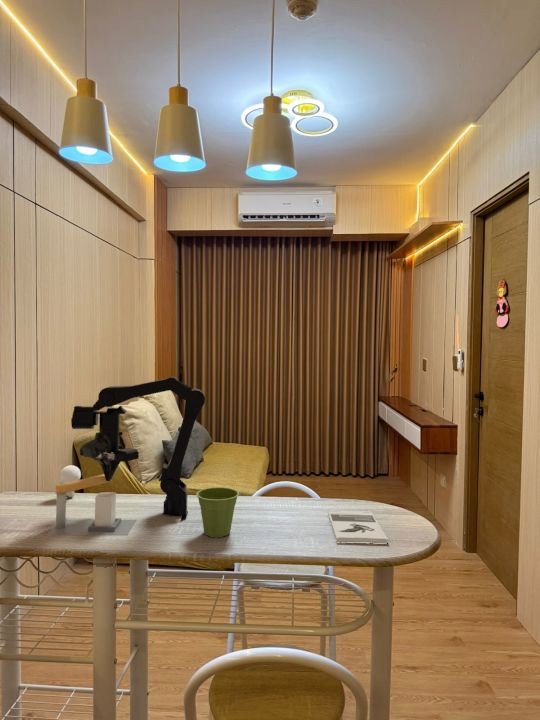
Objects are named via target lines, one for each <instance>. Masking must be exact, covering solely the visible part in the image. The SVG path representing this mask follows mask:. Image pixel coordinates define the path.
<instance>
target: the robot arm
mask: <svg viewBox="0 0 540 720" xmlns="http://www.w3.org/2000/svg"><path fill="white" fill-rule="evenodd" d="M168 391H170V392H172V393H174V394H175V395H177V396H178V397H179V398H181V399H182V400H184V401H185V402H184V413H183V419H182V422H181V425H180V428H179V432H178V435H177V439H176V442H175V445H174V448H173V452H172V456H171V459H170V460H169V463H168V464H167V463H163V465H162V470H161V473H160V475H159V477H158V482H160V483H159V487H160V489H161V491H162V492H163V493H164V494H166V496H165V499H164V501H163V510H162V511H163V516H164V515H165V516H170V517H180V520H186V519H187V516H188V513H189V511H188V494H187V489H188V487H187V484H186V483H185V482H184V481H183V480H182V479H181V477H182V476H181V475H182V467H183V462H184V458H185V455H186V452H187V449H188V446H189V442H190V438H191V436H192V432H193V429H194V425H195V423H196V422H195V421H197V418H198V416H199V414H200V413H201V411H202V410H203V407H204V404H205V402H206V396H205V394H204V392H203V391H202V390H201V389H199V388H192V387H190V386H188V385H187V384H185V383H184V382H182V381H180V380H179V379H178V378H177V377H175V376H170V377H167V378H164V379H158V380H153V381H148V382H143V383H140V384H134V385H113V386H111V385H110V386H107V387H105V388H103V389H101V390H100V391H99V393H98V397H97V398H98V399H97V400H96V401H95V402H94V404H92V406H82V405H75V406H74V407H73V412H72V417H70V420H71V421H70V422H71V423H70V425H71V428H72V430H94V428H95V426H98V424H99V426H98V427H99V428H98V429H99V430H98V431H99V432H95V434H94V435H95V436H94V439H92V440H90V441H88V442H86V443H84V444H83V445H82V446H81V447H80V448H79V455H80V456H83V457H84V458H90V459H93V460H94V461H96V462H97V463H99V464H100V465H99V466H101V469H102V472H103V474H104V475H105V478H106V481H111V479H112V480H113V476H114V474H115V472H116V470H117V469H118V466H120V463H121V462H123V463H124V462H125V463H126V462H131V461H133V460H139V458H140V457H139V450H138V449H136V448H130V447H127V448H123V445H121V444H120V436H123V431H120V422H121V421H120V419H121V415H124V414H126V413H127V412H128V411H127V410H126V409H124V407H123V405H119V404H121V403H124V402H127V401H129V400H131V399H135V398H140V397H144V396H149V395H154V394H157V393H163V392H168ZM116 405H119V406H118V407H114V406H116ZM104 408H107V409H106V410H104V411H103V410H102V409H104ZM101 410H102V411H101ZM111 482H112V481H111Z"/></svg>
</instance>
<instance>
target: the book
mask: <svg viewBox="0 0 540 720" xmlns="http://www.w3.org/2000/svg"><path fill="white" fill-rule="evenodd" d="M327 513H328V515H327V517H328V516H329V518H328V521H329V520H330V521H329V523H331V524H330V527H331V526H332V528H331V530H332V529H333V531H332V533H334V534H333V537H334V536H335V537H334V539H336V540H335V542H370V543H371V542H372V543H388V544H389V538H388V536H387V535H386V533H385V532H384V530H383V529H382V527H381V525H380V524H379V522H378V521H377V518H376V517H375V515H374V513H373V512H372V511H369V510H367V511H363V510H330V509H329V510H328V509H327ZM327 513H326V514H327Z"/></svg>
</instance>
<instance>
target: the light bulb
mask: <svg viewBox="0 0 540 720" xmlns="http://www.w3.org/2000/svg"><path fill="white" fill-rule="evenodd" d="M81 477H82V472H81V469H80V468H79V467H78V466H76V465H72V464H70V465H66V466H65V467H63V468H62V469H61V471H60V473H59V480H60V482H61V484H64V483H68V482H72V481H76V480H81ZM74 496H75V491H71V492H67V493H66V499H67V498H68V499H72V498H73V497H74Z"/></svg>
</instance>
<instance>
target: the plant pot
mask: <svg viewBox="0 0 540 720" xmlns="http://www.w3.org/2000/svg"><path fill="white" fill-rule="evenodd" d="M195 495H196V497H197V498H198V504H199V507H200V513H201V521H202V525H203V527H202V528H203V532H204V535H206V536H208V537H209V536H210V538H213V537H214V538H217V537H220V538H223V537H224V536H229V535H230V533H231V530H232V524H233V519H234V513H235V506H236V504H237V499H238V497H239V496H240V492H239V491H238V490H237V489H235V488H232V487H223V486H219V487H217V486H216V487H215V486H214V487H207V488H203V489H201V490H200V489H199V490H198V491H197V492H196V494H195ZM228 534H229V535H228Z"/></svg>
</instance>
